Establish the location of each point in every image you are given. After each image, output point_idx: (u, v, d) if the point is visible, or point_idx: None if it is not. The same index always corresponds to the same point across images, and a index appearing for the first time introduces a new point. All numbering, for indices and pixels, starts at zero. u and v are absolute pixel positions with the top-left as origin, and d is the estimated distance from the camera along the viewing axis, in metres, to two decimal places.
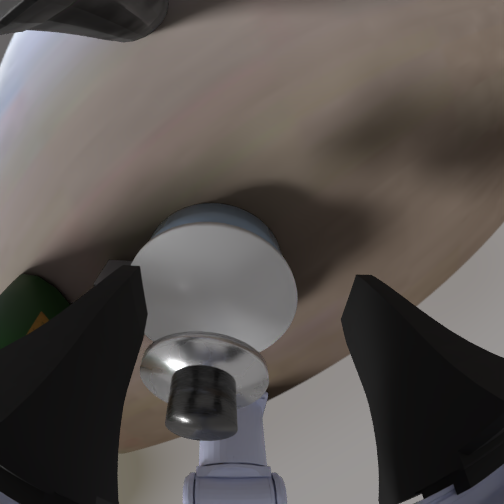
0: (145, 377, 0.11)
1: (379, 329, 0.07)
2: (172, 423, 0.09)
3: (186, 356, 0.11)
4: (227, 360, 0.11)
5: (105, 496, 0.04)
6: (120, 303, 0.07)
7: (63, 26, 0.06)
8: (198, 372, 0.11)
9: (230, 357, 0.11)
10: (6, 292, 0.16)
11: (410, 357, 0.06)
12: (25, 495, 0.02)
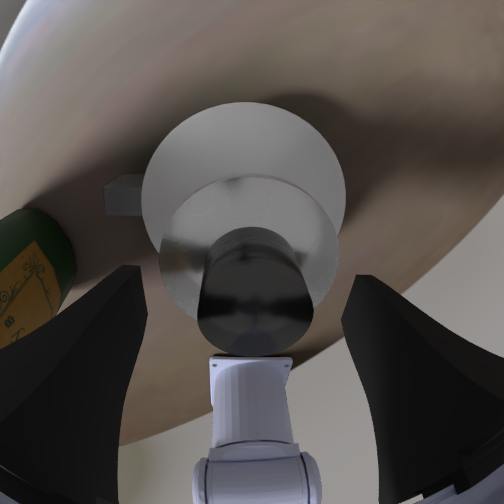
0: (165, 261, 0.09)
1: (379, 329, 0.07)
2: (210, 308, 0.07)
3: (235, 209, 0.08)
4: (291, 217, 0.08)
5: (105, 496, 0.04)
6: (120, 303, 0.07)
7: None
8: (251, 232, 0.08)
9: (295, 210, 0.08)
10: None
11: (410, 357, 0.06)
12: (25, 495, 0.02)
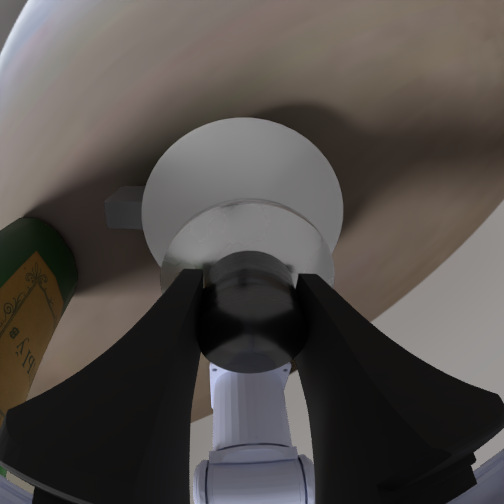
0: (167, 282, 0.09)
1: (314, 333, 0.07)
2: (209, 332, 0.07)
3: (232, 234, 0.08)
4: (287, 241, 0.09)
5: None
6: (194, 309, 0.07)
7: None
8: (248, 257, 0.08)
9: (292, 234, 0.09)
10: None
11: (338, 367, 0.06)
12: None
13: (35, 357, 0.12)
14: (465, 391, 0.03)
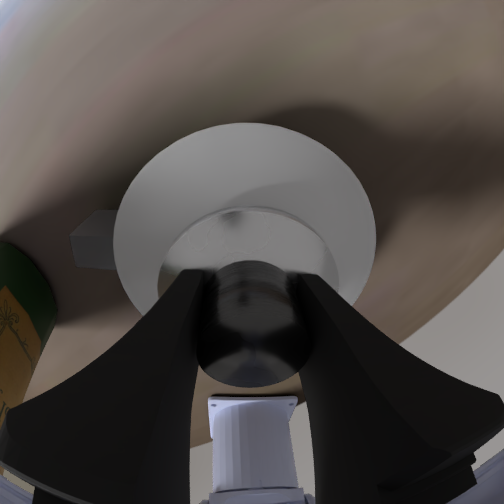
0: None
1: (314, 333, 0.07)
2: (208, 347, 0.07)
3: (232, 243, 0.08)
4: (290, 250, 0.08)
5: None
6: (194, 310, 0.07)
7: None
8: (249, 267, 0.08)
9: (295, 243, 0.08)
10: None
11: (338, 367, 0.06)
12: None
13: (12, 407, 0.09)
14: (465, 391, 0.03)
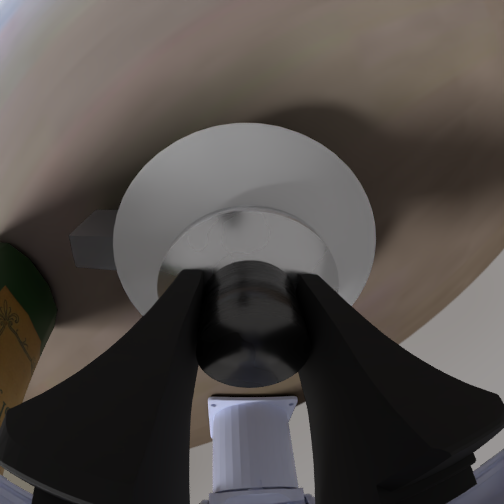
0: None
1: (314, 333, 0.07)
2: (208, 347, 0.07)
3: (232, 243, 0.08)
4: (290, 250, 0.08)
5: None
6: (194, 310, 0.07)
7: None
8: (249, 267, 0.08)
9: (295, 243, 0.08)
10: None
11: (338, 367, 0.06)
12: None
13: None
14: (465, 391, 0.03)
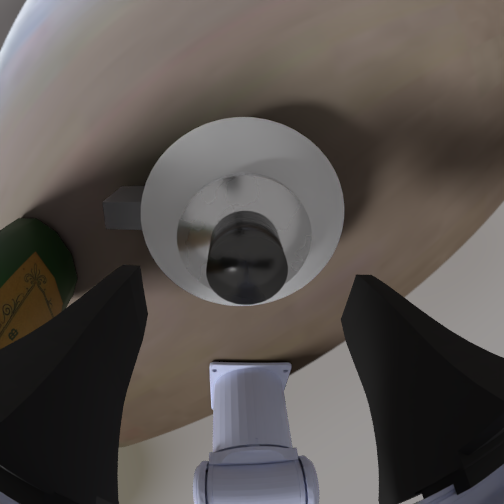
0: (182, 237, 0.12)
1: (379, 329, 0.07)
2: (215, 264, 0.10)
3: (233, 198, 0.11)
4: (273, 203, 0.12)
5: (105, 496, 0.04)
6: (120, 303, 0.07)
7: None
8: (244, 214, 0.11)
9: (277, 198, 0.11)
10: None
11: (410, 357, 0.06)
12: (25, 495, 0.02)
13: None
14: None
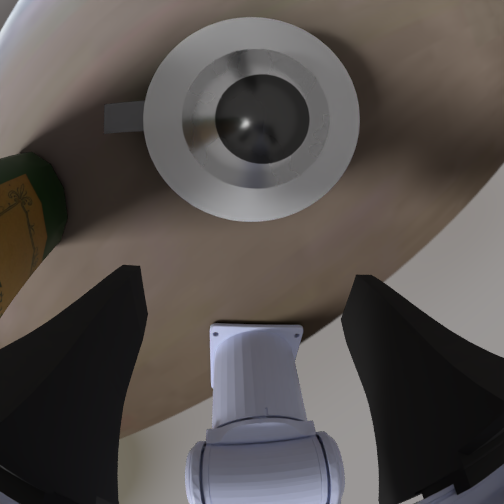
0: (188, 111, 0.10)
1: (379, 329, 0.07)
2: (226, 106, 0.08)
3: (245, 69, 0.09)
4: (288, 77, 0.09)
5: (105, 496, 0.04)
6: (120, 303, 0.07)
7: None
8: None
9: (291, 72, 0.09)
10: None
11: (410, 357, 0.06)
12: (25, 495, 0.02)
13: (3, 283, 0.10)
14: None
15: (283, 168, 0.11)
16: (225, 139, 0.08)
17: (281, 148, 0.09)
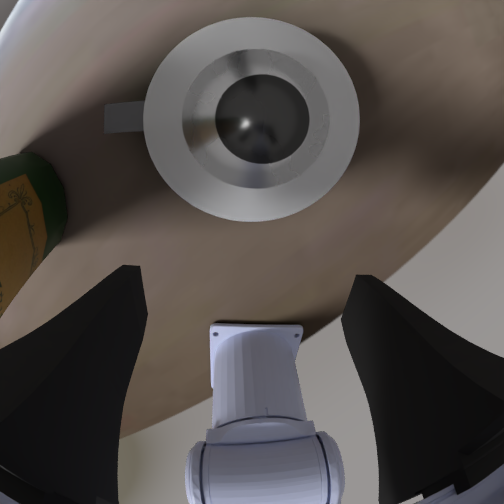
0: (188, 111, 0.10)
1: (379, 329, 0.07)
2: (226, 106, 0.08)
3: (245, 69, 0.09)
4: (288, 77, 0.09)
5: (105, 496, 0.04)
6: (120, 303, 0.07)
7: None
8: None
9: (291, 72, 0.09)
10: None
11: (410, 357, 0.06)
12: (25, 495, 0.02)
13: (3, 283, 0.10)
14: None
15: (283, 168, 0.11)
16: (225, 139, 0.08)
17: (281, 148, 0.09)
